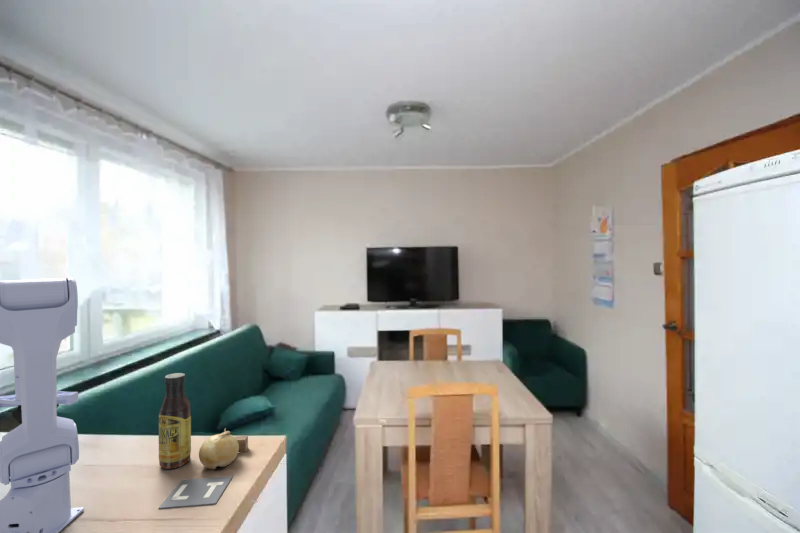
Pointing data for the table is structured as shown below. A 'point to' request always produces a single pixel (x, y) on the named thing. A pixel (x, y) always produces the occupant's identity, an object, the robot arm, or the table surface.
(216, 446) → the onion
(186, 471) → the table surface
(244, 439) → the rail
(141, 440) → the table surface
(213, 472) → the table surface
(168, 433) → the sauce bottle
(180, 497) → the card
